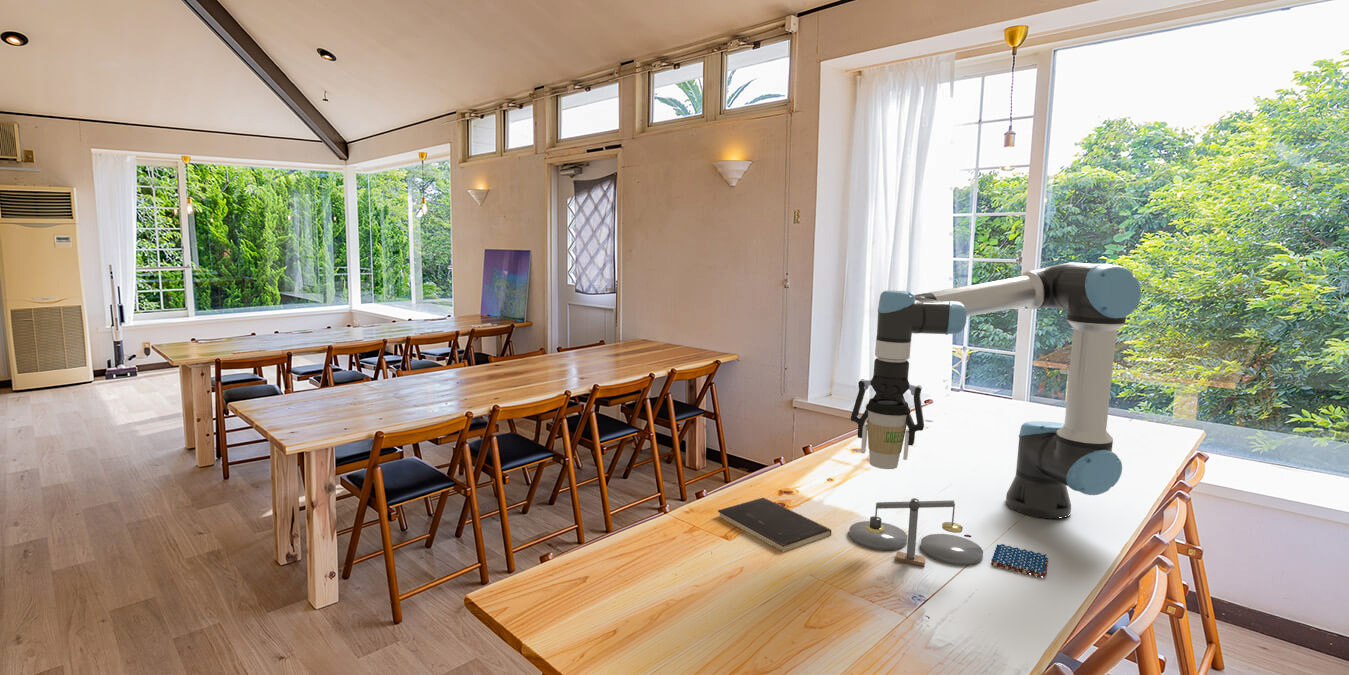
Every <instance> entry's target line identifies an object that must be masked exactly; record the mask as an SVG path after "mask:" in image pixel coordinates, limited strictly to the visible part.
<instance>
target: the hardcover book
mask: <svg viewBox="0 0 1349 675" xmlns="http://www.w3.org/2000/svg"><path fill="white" fill-rule="evenodd" d="M717 512H718V513H719V518H720V519H722V518H723V519H722V520H724V519H725V520H724V521H726V522H727V523H729V524H732V525H733V524H734V526H735V527H737V528H739V529H741V530H742V529H743V530H742V531H744V530H745V531H744V532H746V531H747V532H746V533H748V532H749V533H748V534H750V533H751V534H750V535H752V534H753V535H755V536H757V537H758V538H757V537H756V538H757V539H759V538H761V539H762V540H761V539H760V540H761V541H763V540H764V541H766V542H768V543H770V544H772V545H773V546H772V545H771V546H772V547H774V546H775V547H777V548H778V549H777V548H776V549H777V550H779V549H780V550H779V551H781V550H782V551H781V552H783V551H784V552H786V551H785V550H787V551H790V550H792V548H793V549H795V547H796V548H799V547H800V546H805V545H807V544H809V543H810V544H811V543H812V542H815V541H818V540H821V539H823V538H826V537H829V536H832V529H831V528H829V527H827V526H825V525H823V524H820V523H818V522H817V521H814V520H812V519H810V518H808V517H805V516H804V515H801V514H799V513H798V512H795V511H793V510H790V509H789V508H787V507H785V506H783V505H780V504H778V503H777V502H774V501H772V500H770V499H768V498H765V497H761V498H757V499H753V500H750V501H749V500H748V501H747V502H742V503H740V504H735V505H732V506H728V507H725V508H722V509H718V510H717ZM753 535H752V536H753ZM755 536H754V537H755ZM764 541H763V542H764ZM766 542H765V543H766ZM768 543H767V544H768ZM770 544H769V545H770ZM775 547H774V548H775ZM789 549H790V550H789Z"/></svg>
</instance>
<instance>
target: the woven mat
mask: <svg viewBox="0 0 1349 675" xmlns="http://www.w3.org/2000/svg"><path fill="white" fill-rule="evenodd" d="M1048 562H1049V558H1048V557H1047V554H1043V553H1041V552H1036V551H1033V550H1029V549H1028V550H1027V549H1025V548H1023V549H1021V548H1019V547H1017V546H1016V547H1015V546H1011V545H1006V544H1004V543H1002V544H1001V543H1000V544H996V547H995V549H994V552H993V555H992V558H991V562H990V564H991V565H992V566H993V567H999V568H1000V569H1003V568H1004V567H1005V568H1004V569H1005V570H1007V571H1008V570H1009V568H1010V571H1011V570H1012V572H1014V571H1016V573H1017V572H1019V573H1018V574H1021V573H1022V574H1023V575H1028V574H1029V573H1032V574H1031V575H1035V576H1040V577H1041V576H1044V577H1046V575H1047V574H1048V573H1047V571H1048V565H1047V564H1048ZM1026 570H1027V571H1026ZM1026 573H1027V574H1026ZM1035 576H1034V577H1035Z"/></svg>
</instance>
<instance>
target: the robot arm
mask: <svg viewBox="0 0 1349 675" xmlns="http://www.w3.org/2000/svg"><path fill="white" fill-rule="evenodd" d="M1141 296H1142V288H1141V284H1140V281H1139V280H1138V278H1137V276H1136V275H1135V274H1133V272H1132V271H1131V270H1130V269H1128V268H1126V267H1124V266H1121V265H1115V264H1111V263H1089V262H1088V263H1087V262H1084V263H1083V262H1066V263H1061V264H1056V265H1055V264H1054V265H1052V266H1047V267H1041V268H1038V269H1034V270H1027V271H1025V272H1023V273H1022V274H1021V275H1020V276H1016V277H1010V278H1005V279H998V280H993V281H988V282H982V283H976V284H970V285H965V286H958V287H953V288H947V289H941V290H936V291H930V292H924V293H923V292H922V293H919V294H915V293H914V292H912V291H907V290H906V291H905V290H891V289H890V290H883V291H882V292H881V293H880V295H879V300H878V301H879V302H878V307H877V324H876V327H877V328H876V338H875V351H874V356H875V357H876V358H875V359H874V361H873V362H874V364H873V375H872V379H869V380H868V379H860V380H859V381H858V392H857V396H856V399H855V403H854V406H853V410H852V412H851V416H850V420H851V421H852V422H854V423H856V424H857V438H858V439H861V446H860V448H861V449H860V453H861V454H865V453H866V452H867V445H868V443H867V442H868V426H867V422H866V421H867V420H868V410H867V409H866V408H865V410H864V411H863V413H862V415H861V417H860V416H859V413H860V410H861V407H862V404H863V400H864V397H865V393H866V391H867V390H868V389H869V387H870V386H871V388H872V389H873V390H874V392H875V394H874V396H873V397H872V398H873V399H872V401H875V402H877V401H878V400H879V398H881V399H890V400H894V401H895V400H897V403H898V405H905V403H906V402H907V401H906V399H905V396H904V394H905V393H906V392H907V391H908V390H909V391H910V395H912V396H913V404H914V411H915V412H914V413H915V418H916V423H915V422H914V419H913V417H912V414H911V413H910V414H908V415H907V417H906V424H907V426H906V427H907V428H906V431H905V436H904V443H903V447H904V448H903V458H902V460H904V461H907V460H908V457H909V447H911V446H912V447H913V446H914V444H915V438H916V432H918V431H919V432H920V431H921V432H922V431H924V429H925V423H924V414H923V407H922V400H921V394H922V390H923V387H922V385H919V384H918V385H913V384H910V382H909V369H910V362H909V361H908V360H910V357H911V348H912V347H911V346H912V345H911V344H912V336H913V334H930V335H932V334H933V335H934V334H935V335H946V336H947V335H957V334H959V333H961V332H962V331H964V328H965V327H966V325H967V319H968V318H967V317H973V316H978V315H983V314H984V315H985V314H990V313H995V312H1001V311H1006V310H1007V311H1008V310H1013V309H1019V308H1024V307H1027V308H1029V309H1030V310H1036V309H1042V308H1043V309H1044V308H1046V309H1049V308H1052V309H1061V310H1067V316H1066V321H1067V323H1068V324H1069V325H1070V326H1071V327H1072V329H1073V330H1072V341H1071V352H1070V353H1071V354H1070V361H1069V362H1070V363H1069V374H1068V381H1067V382H1068V383H1067V396H1066V404H1065V415H1064V423H1061V422H1055V421H1053V422H1052V421H1039V420H1038V421H1037V420H1036V421H1026V422H1024V423H1023V424H1021V426H1020V430H1019V435H1018V449H1017V460H1016V470H1015V476H1014V478H1013V480H1012V481H1011V485H1009V488H1008V490H1007V492H1006V496H1005V503H1006V505H1007V506H1008V507H1009V508H1010V509H1012V510H1014V511H1016V512H1017V513H1018V512H1019V513H1021V514H1023V513H1024V515H1027V516H1031V517H1034V516H1035V517H1036V518H1040V517H1042V518H1041V519H1047V518H1059V517H1065V516H1068V515H1069V514H1070V513H1071V512H1072V504H1071V503H1072V502H1071V500H1070V494H1069V491H1068V488H1070V489H1072V491H1076V492H1080V493H1081V494H1084V495H1086V496H1098V495H1103V494H1104V493H1107V492H1108V491H1110V489H1111V488H1113V487H1115V485H1116V484H1117V483H1118V482H1119V481H1120V478H1121V476H1122V473H1123V463H1122V461H1121V459H1120V458H1119V456H1118V455H1117V454H1116V453H1115V452H1113V445H1114V444H1113V443H1114V438H1113V437H1112V436H1111V435H1110V433H1109V432H1108V431H1107V427H1108V417H1109V408H1110V397H1111V387H1112V378H1113V369H1114V368H1113V367H1114V358H1115V348H1116V339H1117V331H1118V330H1119V329H1120V328H1122V327H1124V326H1125V325H1126V321H1127V320H1126V319H1127V317H1128V316H1129V315H1131V314H1133V313H1134V312H1135V309H1137V308H1138V306H1139V304H1140V301H1141V298H1142V297H1141ZM1070 515H1071V514H1070ZM1070 515H1069V516H1070ZM1069 516H1068V517H1069Z"/></svg>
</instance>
